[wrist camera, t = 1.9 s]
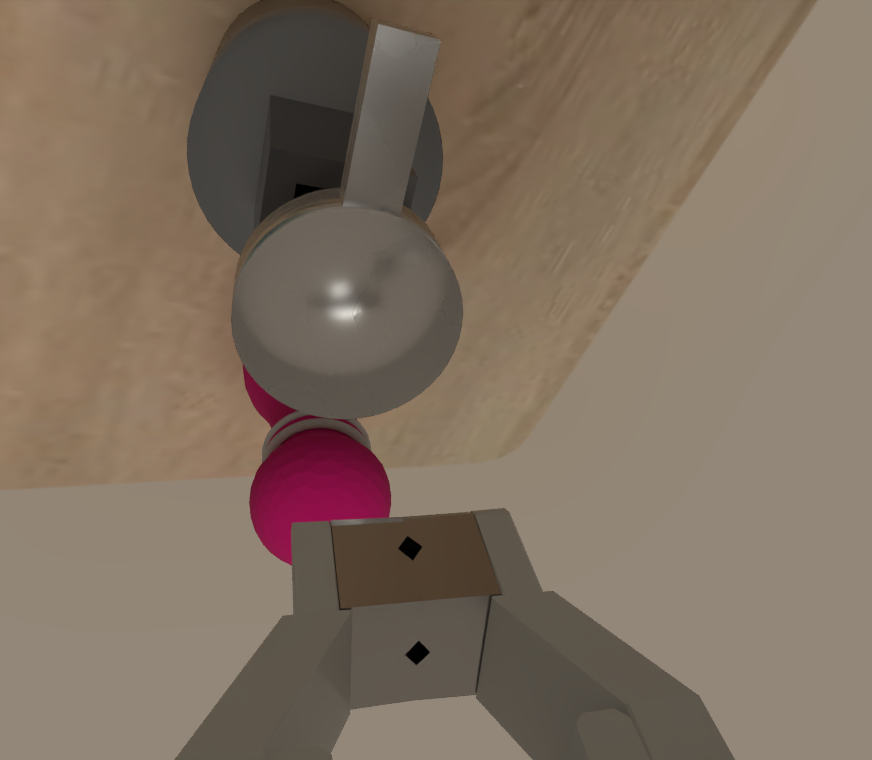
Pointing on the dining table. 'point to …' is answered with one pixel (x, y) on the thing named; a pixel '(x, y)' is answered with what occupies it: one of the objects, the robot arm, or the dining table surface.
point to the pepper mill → (311, 472)
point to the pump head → (354, 262)
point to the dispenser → (287, 115)
